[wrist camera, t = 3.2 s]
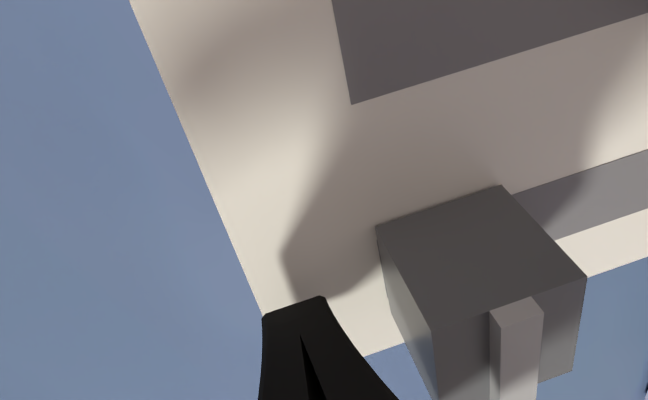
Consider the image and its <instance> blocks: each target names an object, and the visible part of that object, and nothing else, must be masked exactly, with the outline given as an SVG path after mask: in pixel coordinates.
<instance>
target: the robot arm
mask: <svg viewBox="0 0 648 400" xmlns="http://www.w3.org/2000/svg"><path fill="white" fill-rule="evenodd" d="M258 400H399V399H398V398H397V397H396V396H395V395H394V394H393V393H392V391H391V390H390V389H389V388H388V387H387V386H386V385H385V383H384V382H383V381H382V380H381V379H380V378H379V376H378V375H377V374H376V373H375V371H374V370H373V369H372V368H371V366H370V365H369V364H368V363H367V361H366V360H365V359H364V358H363V356H362V355H361V354H360V353H359V351H358V350H357V349H356V347H355V346H354V345H353V343H352V342H351V340H350V339H349V337H348V336H347V335H346V333H345V332H344V330H343V329H342V327H341V326H340V324H339V322H338V321H337V319H336V317H335V316H334V314H333V312H332V310H331V308H330V307H329V305H328V302H327V300H326V298H325V297H323V296H320V295H318V296H316V297H313V298H310V299H307V300H304V301H301V302H298V303H295V304H292V305H289V306H286V307H283V308H280V309H277V310H274V311H272V312H269V313H266V314H265V315H264V316H263V317H262V364H261V377H260V386H259V395H258ZM645 400H648V391H647V394H646V397H645Z"/></svg>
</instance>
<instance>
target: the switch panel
mask: <svg viewBox="0 0 648 400" xmlns="http://www.w3.org/2000/svg"><path fill="white" fill-rule="evenodd" d="M129 2H130V4H131V6H132V9H133V11H134V13H135V16H136V18H137V20H138V23H139V25H140V27H141V30H142V32H143V35H144V37H145V39H146V42H147V44H148V46H149V49H150V51H151V53H152V56H153V58H154V60H155V63H156V65H157V68H158V70H159V72H160V75H161V77H162V79H163V82H164V84H165V86H166V89H167V91H168V93H169V96H170V98H171V101H172V103H173V105H174V108H175V110H176V112H177V115H178V117H179V119H180V122H181V124H182V126H183V129H184V131H185V134H186V136H187V138H188V141H189V143H190V145H191V148H192V150H193V152H194V155H195V157H196V159H197V162H198V164H199V167H200V169H201V171H202V174H203V176H204V178H205V181H206V183H207V185H208V188H209V190H210V192H211V195H212V197H213V200H214V202H215V204H216V207H217V209H218V211H219V214H220V216H221V218H222V221H223V223H224V226H225V228H226V230H227V233H228V235H229V237H230V240H231V242H232V244H233V247H234V249H235V251H236V254H237V256H238V259H239V261H240V263H241V266H242V268H243V270H244V273H245V275H246V277H247V280H248V282H249V284H250V287H251V289H252V292H253V294H254V296H255V299H256V301H257V303H258V306H259V308H260V310H261V313H262V315H263V316H264V315H265V314H266V313H269V312H272V311H274V310H277V309H280V308H283V307H286V306H289V305H292V304H295V303H298V302H301V301H304V300H307V299H310V298H313V297H316V296H318V295H320V296H323V297H325V298H326V300H327V302H328V305H329V307H330V308H331V310H332V312H333V314H334V316H335V317H336V319H337V321H338V322H339V324H340V326H341V327H342V329H343V330H344V332H345V333H346V335H347V336H348V337H349V339H350V340H351V342H352V343H353V345H354V346H355V347H356V349H357V350H358V351H359V353H360V354H361V355H362V356H363V357H364V356H367V355H370V354H373V353H376V352H378V351H381V350H384V349H387V348H390V347H393V346H395V345H398V344H401V343H404V340H403V337H402V335H401V333H400V331H399V329H398V327H397V325H396V323H395V321H394V319H393V316H392V314H391V311H390V305H389V300H388V295H387V289H386V284H385V279H384V273H383V268H382V262H381V257H380V252H379V246H378V241H377V236H376V230H375V226H378V225H381V224H384V223H387V222H390V221H393V220H396V219H399V218H402V217H405V216H408V215H411V214H414V213H417V212H420V211H423V210H426V209H429V208H432V207H435V206H438V205H441V204H444V203H447V202H450V201H453V200H456V199H459V198H462V197H465V196H468V195H471V194H474V193H477V192H480V191H483V190H486V189H489V188H492V187H495V186H498V185H502V186H503V187H504V188H505V189H506V190H507V191H508V192H509V193H510V194H511V195H512V196H513V197H514V198H515V200H516V201H517V202H518V203H519V204H520V205H521V206H522V207H523V208H524V209H525V210H526V211H527V212H528V213H529V214H530V216H531V217H532V218H533V219H534V220H535V221H536V222H537V223H538V224H539V225H540V226H541V227H542V228H543V229H544V230H545V232H546V233H547V234H548V235H549V236H550V237H551V238H552V239H553V240H554V241H555V242H556V243H557V244H558V245H559V246H560V247H561V249H562V250H563V251H564V252H565V253H566V254H567V255H568V256H569V257H570V258H571V259H572V260H573V261H574V262H575V263H576V265H577V266H578V267H579V268H580V269H581V270H582V271H583V272H584V273H585V274H586V275H587V278H588V277H591V276H594V275H597V274H599V273H602V272H605V271H608V270H611V269H614V268H616V267H619V266H622V265H625V264H628V263H631V262H633V261H636V260H639V259H642V258H645V257H648V0H129Z"/></svg>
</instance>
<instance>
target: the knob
mask: <svg viewBox="0 0 648 400" xmlns="http://www.w3.org/2000/svg"><path fill="white" fill-rule="evenodd" d="M375 230H376V236H377V241H378V246H379V252H380V257H381V262H382V268H383V273H384V279H385V284H386V289H387V295H388V300H389V305H390V311H391V314H392V316H393V319H394V321H395V323H396V325H397V327H398V329H399V331H400V333H401V335H402V337H403V340H404V342H405V344H406V346H407V348H408V350H409V352H410V354H411V356H412V358H413V361H414V363H415V365H416V367H417V369H418V371H419V373H420V375H421V377H422V379H423V381H424V384H425V386H426V388H427V390H428V392H429V394H430V396H431V398H432V400H536V392H537V383H540V382H543V381H546V380H548V379H551V378H554V377H557V376H559V375H562V374H565V373H567V372H570V371H572V367H573V361H574V355H575V349H576V343H577V337H578V331H579V325H580V319H581V313H582V307H583V301H584V295H585V289H586V282H587V275H586V274H585V273H584V272H583V271H582V270H581V269H580V268H579V267H578V266H577V265H576V263H575V262H574V261H573V260H572V259H571V258H570V257H569V256H568V255H567V254H566V253H565V252H564V251H563V250H562V249H561V247H560V246H559V245H558V244H557V243H556V242H555V241H554V240H553V239H552V238H551V237H550V236H549V235H548V234H547V233H546V232H545V230H544V229H543V228H542V227H541V226H540V225H539V224H538V223H537V222H536V221H535V220H534V219H533V218H532V217H531V216H530V214H529V213H528V212H527V211H526V210H525V209H524V208H523V207H522V206H521V205H520V204H519V203H518V202H517V201H516V200H515V198H514V197H513V196H512V195H511V194H510V193H509V192H508V191H507V190H506V189H505V188H504V187H503V186H502V185H498V186H495V187H492V188H489V189H486V190H483V191H480V192H477V193H474V194H471V195H468V196H465V197H462V198H459V199H456V200H453V201H450V202H447V203H444V204H441V205H438V206H435V207H432V208H429V209H426V210H423V211H420V212H417V213H414V214H411V215H408V216H405V217H402V218H399V219H396V220H393V221H390V222H387V223H384V224H381V225H378V226H375Z"/></svg>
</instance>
